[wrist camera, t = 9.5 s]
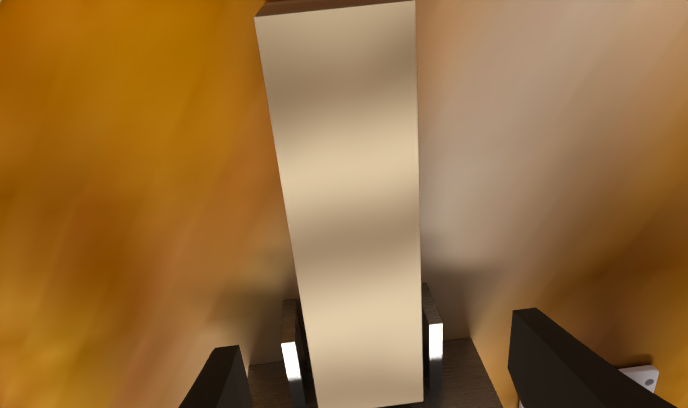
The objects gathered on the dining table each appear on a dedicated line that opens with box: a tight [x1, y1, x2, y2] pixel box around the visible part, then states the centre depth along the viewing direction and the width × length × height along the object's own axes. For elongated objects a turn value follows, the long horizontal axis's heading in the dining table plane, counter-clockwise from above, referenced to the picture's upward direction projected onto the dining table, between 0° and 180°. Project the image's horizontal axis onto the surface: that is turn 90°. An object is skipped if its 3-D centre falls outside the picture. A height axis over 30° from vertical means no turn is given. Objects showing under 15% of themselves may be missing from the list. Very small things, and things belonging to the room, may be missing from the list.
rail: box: [254, 0, 423, 408], centre depth 19 cm, size 16×4×5 cm, turn 5°
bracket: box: [247, 283, 503, 408], centre depth 23 cm, size 5×12×5 cm, turn 95°
